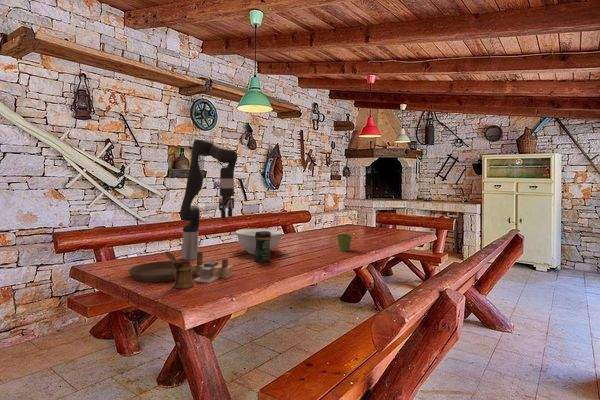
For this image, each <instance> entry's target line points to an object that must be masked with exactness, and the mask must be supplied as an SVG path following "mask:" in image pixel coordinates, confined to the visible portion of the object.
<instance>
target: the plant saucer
mask: <svg viewBox="0 0 600 400" xmlns="http://www.w3.org/2000/svg"><path fill="white" fill-rule="evenodd" d="M176 262H181V261H178V260H176ZM172 263H173V262H172V261H171V260H165V261H164V260H162V261H153V262H146V263H140V264H137V265H134V266H132V267H129V269H128V273H129V274H130V276H131V277H133V278H134V280H136V281H139V282H145V283H146V282H148V283H161V282H170V281H175V279H174V277H173V275H172V273H171V265H172ZM192 266H193V264H191V267H192ZM174 272H175V273H176V268H175V270H174Z"/></svg>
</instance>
